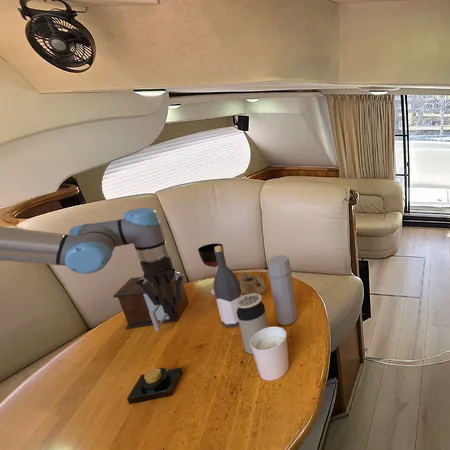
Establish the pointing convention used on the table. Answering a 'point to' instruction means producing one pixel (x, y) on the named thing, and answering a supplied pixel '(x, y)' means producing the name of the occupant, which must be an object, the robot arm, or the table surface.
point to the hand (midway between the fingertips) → (174, 319)
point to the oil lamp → (251, 284)
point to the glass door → (156, 313)
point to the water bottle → (282, 289)
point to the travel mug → (251, 317)
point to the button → (152, 375)
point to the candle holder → (270, 352)
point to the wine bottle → (226, 291)
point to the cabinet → (142, 303)
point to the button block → (155, 386)
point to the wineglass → (209, 256)
